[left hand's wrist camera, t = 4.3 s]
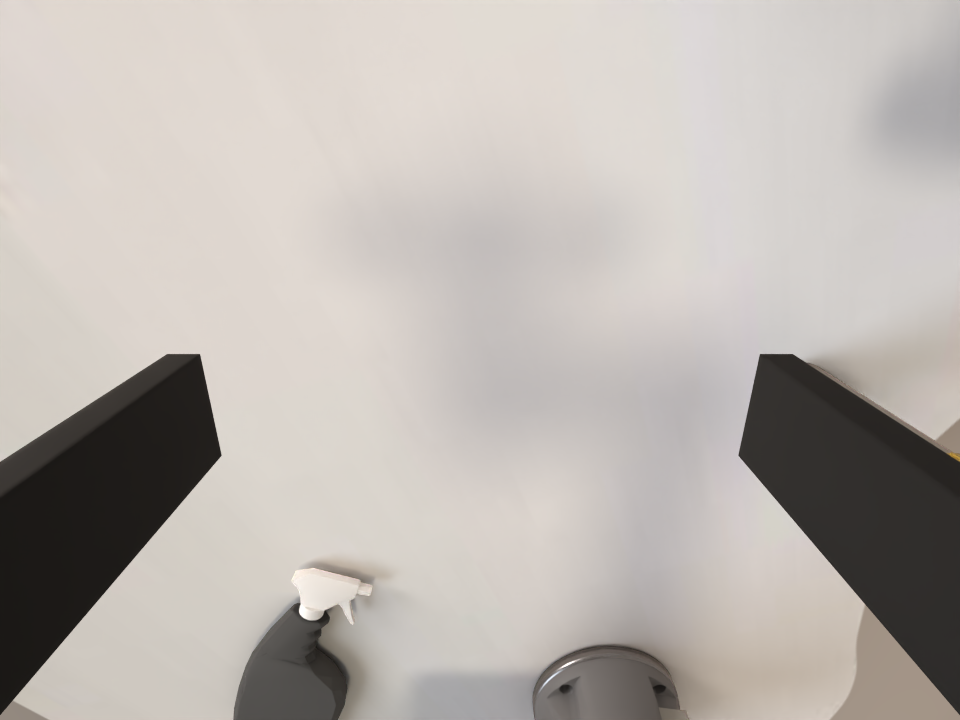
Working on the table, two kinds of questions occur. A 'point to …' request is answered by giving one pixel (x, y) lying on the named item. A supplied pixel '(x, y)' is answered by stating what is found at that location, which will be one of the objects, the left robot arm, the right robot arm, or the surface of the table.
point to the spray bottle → (299, 656)
